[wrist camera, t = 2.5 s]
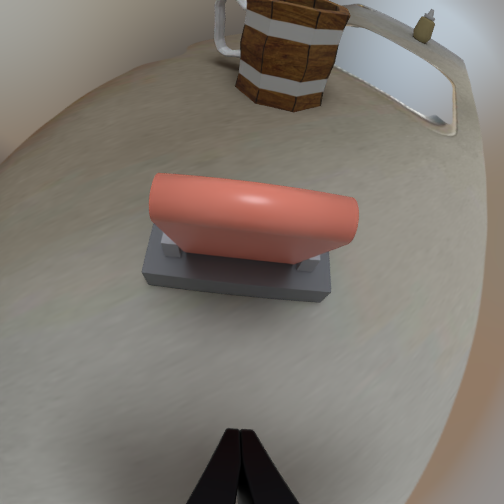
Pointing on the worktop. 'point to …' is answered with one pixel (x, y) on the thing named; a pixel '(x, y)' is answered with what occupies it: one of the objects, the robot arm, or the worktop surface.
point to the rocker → (250, 218)
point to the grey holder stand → (234, 273)
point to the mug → (285, 49)
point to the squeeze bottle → (424, 27)
